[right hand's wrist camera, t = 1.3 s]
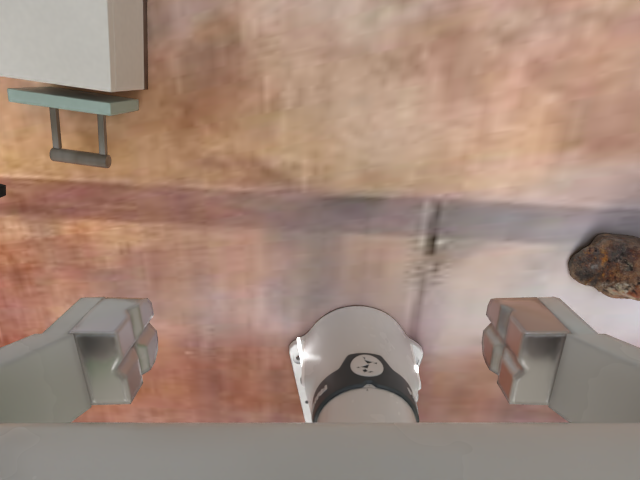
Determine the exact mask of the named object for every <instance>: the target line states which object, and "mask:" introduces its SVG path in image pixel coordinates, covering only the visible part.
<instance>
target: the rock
mask: <svg viewBox="0 0 640 480" xmlns="http://www.w3.org/2000/svg"><path fill="white" fill-rule="evenodd" d="M569 271H570V275H571V276H572V277H573V279H575V280H576V281H578V282H579V283H581V284H584V285H589V286H593V287H595V288H597V290H598V291H600V292H602V293H603V294H605V295H607V296H609V297H612V298H620V299H621V298H625V299H633V300H637V301H640V238H637V237H634V236H628V235H615V234H608V233H605V234H600V235H597V236H596V237H595V238H594V239H593V241H592V243H591V244H590V245H589V246H587V247H585V248H583V249H582V250H580V251H579V252H578V253H576V254H574V255H573V256H572V258H571V259H570V261H569Z"/></svg>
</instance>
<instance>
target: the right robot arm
mask: <svg viewBox="0 0 640 480" xmlns="http://www.w3.org/2000/svg"><path fill="white" fill-rule="evenodd" d="M153 315H154V313H153V308H152V303H151V301H150V300H149V299H148V298H113V297H107V298H105V297H86V298H80V299H79V300H78V301H77V302H76V303H75V304H74V305H73V306H72V307H71V308H70V309H68V310H67V311H66V312H65V313H64V314H63V315H62V316H61V317H60V318H59V319H58V320H56V321H55V322H54V323H53V324H52V325H51V326H50V327H49V328H48V329H47V330H45V331H44V332H43V333H42V334H33V335H31V336H28V337H26V338H23V339H21V340H19V341H16V342H14V343H11V344H9V345H6V346H4V347H1V348H0V480H640V348H639V347H636V346H634V345H631V344H629V343H626V342H624V341H621V340H619V339H616V338H614V337H612V336H609V335H607V334H598V333H597V332H596V331H595V330H593V329H592V328H591V327H590V326H589V325H588V324H587V323H586V322H585V321H584V320H583V319H581V318H580V317H579V316H578V315H577V314H576V313H575V312H574V311H573V310H572V309H571V308H570V307H568V306H567V305H566V304H565V303H564V302H563V301H562V300H561V299H560V298H556V297H539V298H537V297H530V298H495V299H491V300H490V302H489V304H488V307H487V312H486V315H487V317H488V318H489V320H490V322H491V323H490V324H489V325H488V326H487V327H486V328H485V330H484V331H483V337H482V351H483V356H484V359H485V363H486V364H487V366H488V368H489V370H491V371H492V372H494V373H496V374H497V375H498V380H497V384H498V385H499V387H500V389H501V390H502V392H503V394H504V396H505V397H506V399H507V401H508V402H509V404H531V405H549V406H548V407H549V408H551V409H552V410H553V411H555V412H556V413H557V414H559V415H560V416H561V417H563V418H564V419H565V420H567V421H568V422H569V423H419V416H418V407H417V403H416V402H417V401H418V390H420V389H421V381H420V377H419V373H418V370H419V369H418V368H419V365H420V363H421V360H422V357H423V350H422V347H421V346H420V345H419V344H418V343H417V342H415V341H414V340H412V339H410V338H409V337H408V336H407V335H406V334H405V333H404V331H403V330H402V328H401V326H400V325H399V324H398V323H397V322H396V321H395V320H394V319H393V318H392V317H391V316H389V315H388V314H386V313H384V312H382V311H380V310H378V309H375V308H371V307H365V306H350V307H344V308H340V309H337V310H335V311H332V312H330V313H328V314H327V315H325V316H324V317H322V318H321V319H320V320H319V321H317V322H316V323H315V325H314V326H313V327H312V328H311V329H310V331H309V332H308V333H307V334H306V335H304V336H302V337H299V338H297V339H296V340H294V341H293V342H292V343H291V344H290V345H289V354H290V358H291V362H292V367H293V371H294V375H295V380H296V384H297V388H298V393H299V397H300V401H301V406H302V410H303V414H304V419H305V422H306V423H71V422H72V421H73V420H75V419H76V418H77V417H79V416H80V415H81V414H83V413H84V412H85V411H87V410H88V409H89V408H91V405H108V404H131V402H132V401H133V399H134V397H135V396H136V394H137V392H138V391H139V389H140V387H141V385H142V384H143V380H142V375H143V374H144V373H146V372H148V371H149V370H151V368H152V366H153V364H154V362H155V360H156V355H157V351H158V336H157V331H156V330H155V328H154V327H153V326H152V325H151V324H150V323H149V322H150V320H151V318H152V317H153ZM298 355H299V356H300V357H297V356H298Z"/></svg>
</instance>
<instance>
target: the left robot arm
mask: <svg viewBox="0 0 640 480" xmlns="http://www.w3.org/2000/svg"><path fill="white" fill-rule="evenodd" d="M5 195H6V185H3V184H0V197H3V196H5Z"/></svg>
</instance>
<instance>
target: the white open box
mask: <svg viewBox="0 0 640 480" xmlns="http://www.w3.org/2000/svg"><path fill="white" fill-rule="evenodd" d="M0 76H2V77H9V78H16V79H23V80H30V81H37V82H44V83H51V84H58V85H64V86H71V87H78V88H85V89H92V90H99V91H106V92H118V91H130V90H142V89H144V90H145V89H148V64H147V0H0Z"/></svg>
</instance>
